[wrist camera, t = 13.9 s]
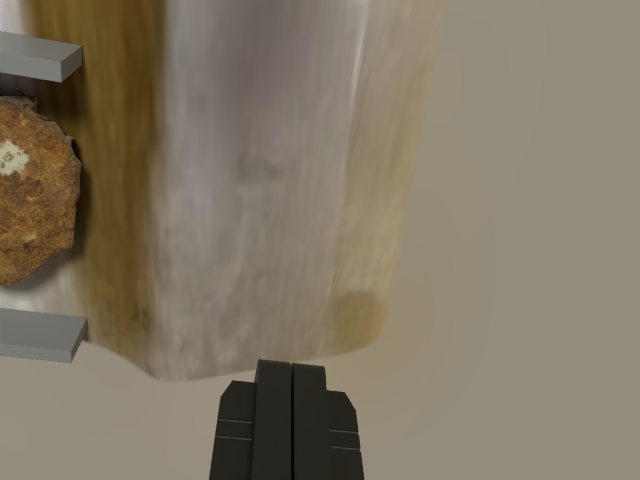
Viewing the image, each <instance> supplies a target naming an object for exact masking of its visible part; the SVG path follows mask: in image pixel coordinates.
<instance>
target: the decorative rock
mask: <svg viewBox="0 0 640 480" xmlns="http://www.w3.org/2000/svg"><path fill="white" fill-rule="evenodd" d="M37 102H38V101H37V97H36V96H35V95H33V94H32V93H31V92H29V91H25V90H22V91H21V92H20V93H19V94H17V95H15V96H1V97H0V285H6V286H9V285H11V284H14V283H17V282H19V281H20V280H21V278H22V277H27V276H28V275H29V274H30V273H32V272H34V271H36V270H37V269H38V268H40V267H41V266H42V265H43V264H44V263H45V262H46V261H47V260H49V259H51V258H54V257H55V256H57V255H58V254H59V253H60V252H62V251H65V250H67V249H70V248H72V246H73V240H74V228H75V223H76V219H75V215H76V202H77V200H78V198H79V195H80V192H81V191H80V172H81V165H82V163H81V162H80V161H79V160H78V159H77V157H76V156H75V155H74V152H73V149H72V146H71V141H72V140H73V139H74V138H73V137H72V136H69V135H66V136H65V135H64V134H63V132H62V131H61V129H60V127H59V125H58V124H57V123H56V122H52V121H51V120H49V119H48V118H47V117H44V116H42V115H40V114H37V110H36V106H37Z"/></svg>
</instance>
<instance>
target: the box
mask: <svg viewBox="0 0 640 480" xmlns="http://www.w3.org/2000/svg"><path fill="white" fill-rule="evenodd" d="M81 65H82V46H81V45H75V44H69V43H64V42H58V41H52V40H47V39H41V38H35V37H30V36H24V35H18V34H13V33H7V32H1V31H0V72H2V73H8V74H14V75H20V76H26V77H32V78H38V79H44V80H49V81H55V82H62V81H64V80H65V79H66V78H67V77H68V76H69V75H71V74H72V73H73V72H74V71H75V70H76V69H78V68H79V67H80V66H81ZM86 330H87V320H86V318H79V317H71V316H62V315H54V314H45V313H37V312H28V311H20V310H11V309H3V308H0V355H1V356H11V357H20V358H29V359H39V360H48V361H58V362H67V363H71V362H72V360H73V358H74V356H75V354H76V351H77V349H78V347H79V345H80V343H81V341H82V339H83V336H84V334H85V332H86Z"/></svg>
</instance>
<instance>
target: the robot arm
mask: <svg viewBox="0 0 640 480" xmlns="http://www.w3.org/2000/svg"><path fill="white" fill-rule="evenodd" d="M359 441H360V440H359V435H358V424H357V416H356V410H355V409H354V407H353V405H352V404H351V402H350V400H349V399H348V397H347V395H346V394H345V392H338V391H329V390H327V389H326V375H325V368H324V366H316V365H307V364H298V363H292V365H291V364H290V363H288V362H279V361H270V360H261V359H259V360H258V364H257V369H256V375H255V380H254V383H253V382H243V381H234V380H233V381H232V382H231V383H230V385H229V386H228V388H227V389H226V390H225V392H224V393H223V394H222V396H221V399H220V405H219V412H218V419H217V427H216V434H215V440H214V448H213V455H212V461H211V469H210V476H209V480H364V473H363V465H362V457H361V452H360V442H359Z"/></svg>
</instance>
